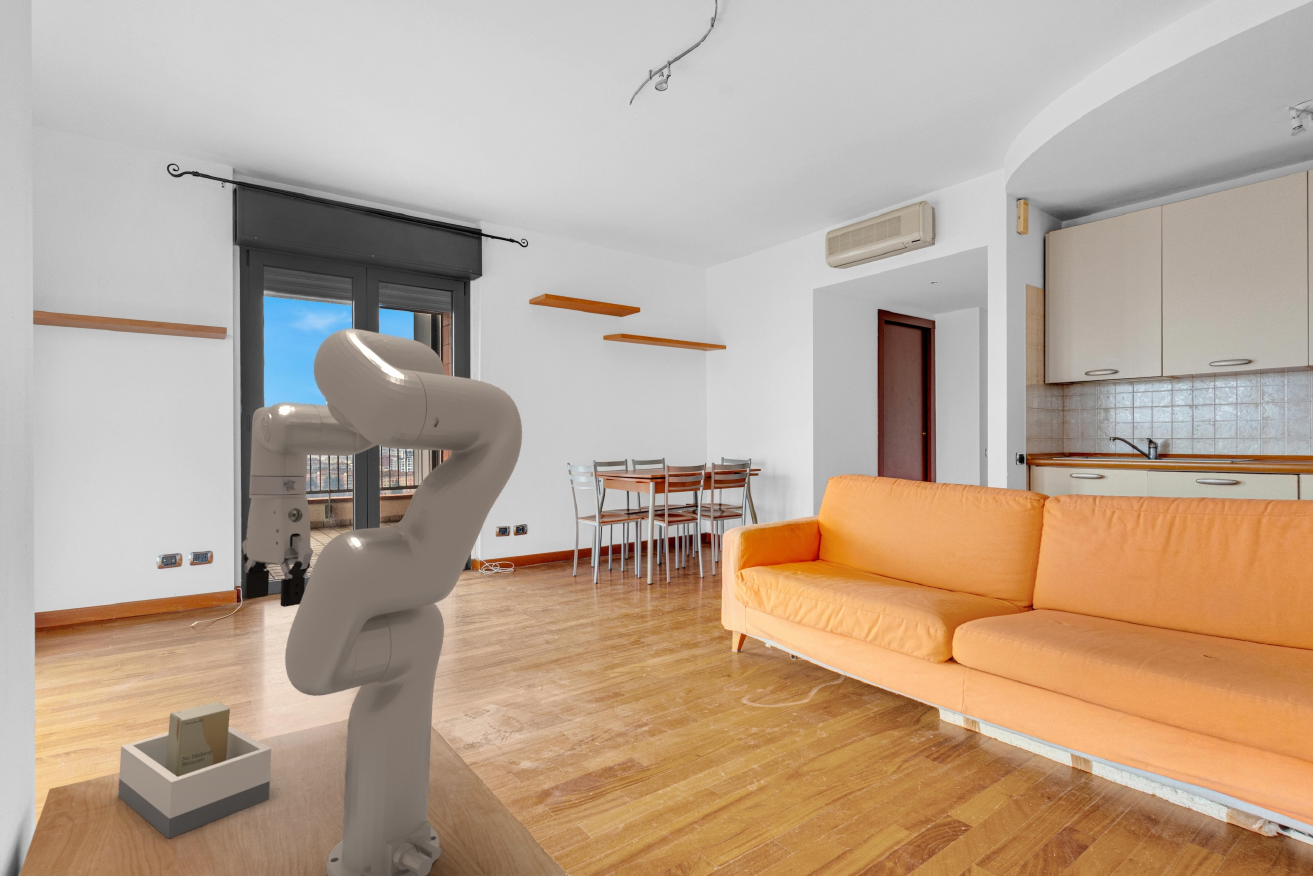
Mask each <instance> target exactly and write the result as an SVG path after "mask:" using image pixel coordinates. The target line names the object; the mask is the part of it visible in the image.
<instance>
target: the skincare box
mask: <svg viewBox="0 0 1313 876" xmlns="http://www.w3.org/2000/svg"><path fill="white" fill-rule="evenodd" d="M230 711H231V708H230V707H228V706H227V705H225V704H223V703H222V702H220V701H217V702H212V703H208V704H204V705H203V704H202V705H197V706H193V707H190V708H187V709H186V708H185V709H183V710H177V711H173V712H170V713H169V723H168V724H169V725H168V732H167V733H168V745H167V757H166V769H167V770H168V771H170V772H171V773H173V774H174V775H176V776H177V777H179V776H182V775H185V774H188V773H191V772H194V771H197V770H200V769H203V768H206V767H209V766H212V765H215V764H218V763H221V762H224V761H226V756H227V742H228V728H229V726H230V714H231V713H230Z"/></svg>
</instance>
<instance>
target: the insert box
mask: <svg viewBox="0 0 1313 876" xmlns="http://www.w3.org/2000/svg"><path fill="white" fill-rule="evenodd" d="M168 733H169V732H167V733H162V734H159V735H155V736H152V737H149V738H144V739H140V740H137V741H133V742H130V743H127V744H123V745H121V747H120V758H119V759H120V761H119V781H118V795H117V796H118V798H119V799H120V800H122V801H123V802H124V803H125V804H126V805H127V806H128V807H130V808H131V809H132V810H134V811H135V812H136V813H137V814H139V816H141V817H142V818H143V819H144V820H146V822H148V823H149V824H150V825H151V826H153V828H155V829H156V830H157V831H158V832H160V833H161V834H162V835H163V836H164V837H166V838H167V839H168V840H169V839H172V838H175V837H177V836H180V835H182V834H184V833H187V832H189V831H192V830H194V829H197V828H200V827H203V826H205V825H207V824H210V823H213V822H215V821H217V820H220V819H222V818H225V817H227V816H230V815H232V814H235V813H238V812H241V811H242V810H245V809H248V808H250V807H252V806H255V805H257V804H260V803H263V802H265V801H268V800H270V785H271V783H270V782H271V781H270V780H271V763H272V748H271V747H269V746H267V745H265V744H263V743H261V742H260V741H258V740H256V739H254V738H253V737H251V736H248V735H247V734H245V733H243V732H242V731H241V730H240V731H239V730H237V729H236V728H235V727H232V726H230V725H229V728H228V742H227V756H226V761H224V762H221V763H218V764H215V765H212V766H209V767H206V768H203V769H200V770H197V771H194V772H191V773H188V774H185V775H182V776H179V777H177V776H176V775H174V774H173V773H171V772H170V771H168V770H167V769H166V757H167V745H168Z"/></svg>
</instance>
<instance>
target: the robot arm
mask: <svg viewBox="0 0 1313 876" xmlns="http://www.w3.org/2000/svg"><path fill="white" fill-rule="evenodd" d="M444 367H445V366H444V363H443V362H442V360H441V358H440V356H439V355H438V354H437V353H436V351H435V350H433V349H432V348H431V347H430V346H428V345H426V344H424V343H423V342H420V341H417V340H414V339H411V338H406V337H402V336H396V335H391V334H385V333H379V332H375V331H369V330H364V329H356V328H343V329H340V330H337V331H335V332H333V333H331V334H330V335H328V336H327V337H326V338H325V339H324V340H323V341H322V342H321V344H320V345H319V347H318V349H317V351H316V354H315V357H314V362H313V376H314V380H315V383H316V386H317V388H318V390H319V392H320V393H321V394H322V396H323V397H324V400H325V403H326V404H316V403H315V404H313V403H299V402H279V403H275V404H273V405H271V406H264V407H263V406H262V407H259V408H257V409H256V410H255V411H254V413H253V415H252V422H251V423H252V426H251V428H252V429H251V449H250V450H251V451H250V452H251V453H250V454H251V455H250V470H249V471H250V472H249V473H250V474H249V475H250V476H249V499H250V500H251V501H250V505H249V511H248V517H247V519H248V520H247V528H246V538H245V539H244V540H243V542H242V543H241V545H242V550H243V558H242V559H243V561H244V563H245V564H244V571H245V588H244V590H245V592H244V594H245V595H244V598H245V599H247V600H251V599H258V598H264V597H268V595H269V583H270V582H269V581H270V570H269V569H267V568H268V566H269V565H275V566H280V570H281V572H282V573H283V577H284V578H281V580H280V581H281V583H280V607H284V608H285V607H286V608H287V607H293V606H296V605H298V608H297V610H296V613H295V616H294V619H293V621H292V624H291V627H290V629H289V634H288V637H287V641H286V648H285V655H284V660H285V661H284V664H285V671H286V674H287V678H288V680H289V682H290V683H291V685H292V686H293V688H295V690H297V691H298V692H300V693H301V694H305V695H307V696H311V697H312V696H315V697H317V696H320V697H321V696H325V695H331V694H336V693H339V692H344V691H347V690H351V689H354V688H355V689H356V688H358V687H359V688H358V691H357V692H356V695H355V698H353V699H354V700H353V702H352V704H351V708H350V710H349V716H348V720H347V732H346V733H347V735H346V750H345V751H346V753H345V754H346V755H345V774H344V775H345V777H344V778H345V780H344V783H345V784H344V798H343V799H344V801H343V802H344V803H343V827H342V839H341V840H340V841H339V842H337V844H335V846H333V847H332V849H331V850H330V851H329V854H328V856H327V860H326V875H327V876H428V874H429V873H430V871H431V869H432V866H433V864H434V862H435V861H437V859H439V858H440V856H441V855H442V850H443V849H442V847H440V837H439V833H437V832H436V830H435V829H434V828H433V827H432V823H431V822H429V821H428V813H429V790H430V788H429V786H430V768H431V767H430V766H431V743H432V741H431V739H432V722H433V720H432V719H433V718H432V717H433V701H434V689H435V681H436V675H437V670H438V666H439V661H440V658H441V657H440V656H441V653H442V648H443V645H444V636H445V624H444V619H443V614H442V612H441V610H440V608H439V607H438V606H437V604H436V603H439V602H441V601H443V600H445V599H446V598H447V597H448V596H450V594H451V593H452V592H453V590H454V588H455V586H456V585H457V583H458V581H459V579H460V577H461V575H462V574H463V571H464V569H465V567H466V564H467V562H468V559H469V558H470V555H471V553H472V551H473V549H474V547H475V545H476V543H477V540H478V538H479V536H480V533H481V531H482V529H483V525H484V523H485V521H486V519H487V517H488V515H489V513H490V511H491V509H492V508H493V506H494V505H495V503H496V501H497V500H498V498H499V496H500V494H501V493H502V492H503V490H504V488H505V487H506V485H507V483H508V482H509V480H510V478H511V476H512V474H513V472H514V470H515V467H516V465H517V463H518V460H519V457H520V453H521V448H522V444H523V443H522V442H523V441H522V440H523V429H522V428H523V426H522V420H521V415H520V412H519V409H518V407H517V404H516V403H515V401H514V400H513V398H512V397H511V395H509V394H508V393H507V392H506V391H504V390H503V389H501V388H499V387H498V386H496V385H494V384H492V383H488V382H484V381H482V380H478V379H473V378H469V377H468V378H467V377H463V376H462V377H461V376H455V375H445V368H444ZM376 446H379V447H383V448H386V449H394V450H395V449H396V450H421V451H422V450H423V451H451V452H450V455H449V456H448V457H447V458H446V459H444V460H443V461H442V462H441V463H440V464H439V465H437V466H435V468H433V469H432V470H431V471H430V472H429V474H428V475H426V477H424V478H423V480H422V481H421V482H420V483H419V484H418V486H417V487H416V489H415V491H414V493H413V494H412V497H411V498H410V499H411V500H410V503H409V506H408V507H407V510H406V512H405V514H404V515H403V517H402V519H401V520H400V521H398V522H397V523H395V524H393V525H390V526H384V527H381V526H380V527H371V528H360V529H359V528H358V529H354V530H348V531H346V532H343V533H341V534H338V535H337V536H335V537H333V538H332V539H330V540H329V542H328V543H326V545H325V546H324V547H323V549H321V552H320V553H319V555H318V556H317V559H316V561H315V562H314V565H313V567H312V570H311V573H310V575H309V578H308V581H307V585H306V587H305V583H306V581H305V580H306V579H305V578H306V577H307V576H308V570H309V568H310V567H311V560H312V557H313V554H314V550H313V548H312V546H311V519H310V507H309V502H308V498H307V484H308V483H307V480H308V479H307V478H308V476H307V475H308V456H338V457H347V456H353V455H357V454H360V453H362V452H365V451H367V450H370V449H371V448H374V447H376ZM291 566H292V567H291Z"/></svg>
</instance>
